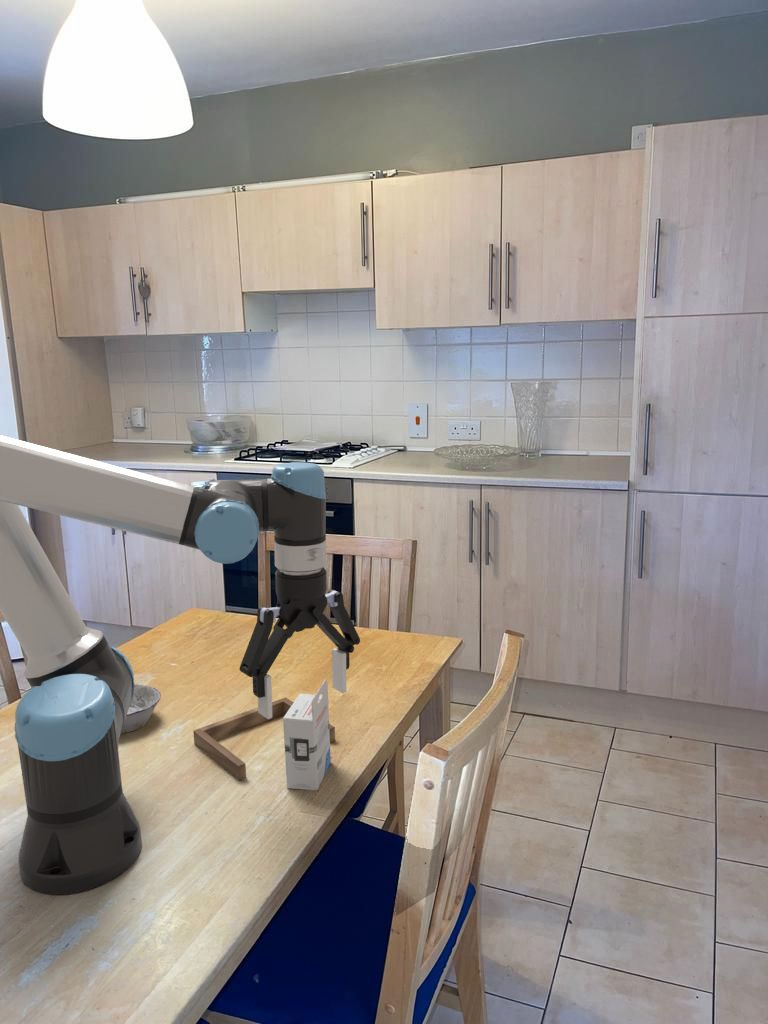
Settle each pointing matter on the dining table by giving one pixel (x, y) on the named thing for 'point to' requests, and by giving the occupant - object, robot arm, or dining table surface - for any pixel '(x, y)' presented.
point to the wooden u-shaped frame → (212, 732)
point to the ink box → (307, 740)
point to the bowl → (140, 707)
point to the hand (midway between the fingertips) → (303, 702)
